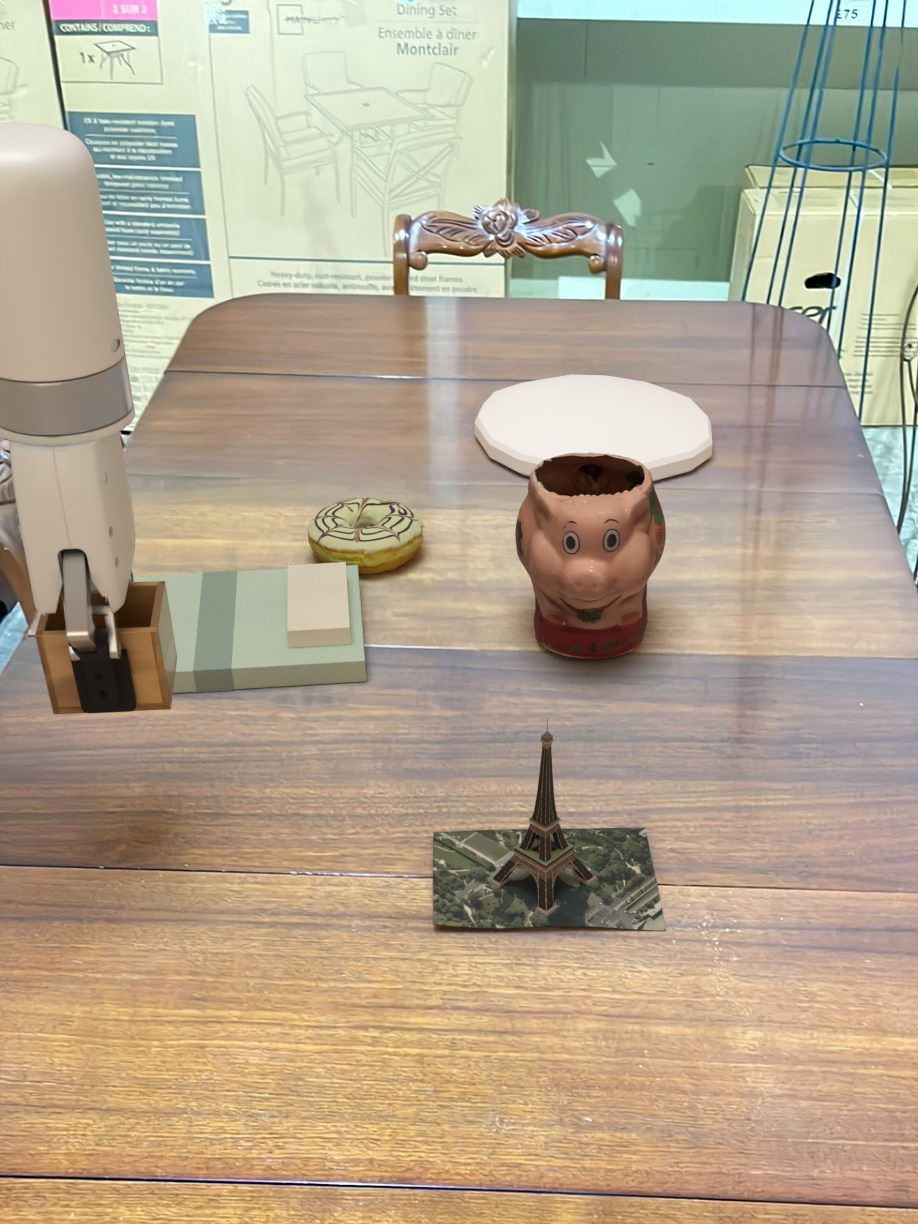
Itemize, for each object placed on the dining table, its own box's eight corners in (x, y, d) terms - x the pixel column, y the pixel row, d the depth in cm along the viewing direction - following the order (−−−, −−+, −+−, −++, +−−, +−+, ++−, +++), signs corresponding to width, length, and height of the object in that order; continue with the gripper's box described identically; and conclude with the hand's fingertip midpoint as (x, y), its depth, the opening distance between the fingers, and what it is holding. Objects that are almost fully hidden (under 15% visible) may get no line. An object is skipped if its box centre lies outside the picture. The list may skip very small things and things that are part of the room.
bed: (87, 699, 107) (78, 659, 105) (108, 598, 119) (99, 560, 117) (366, 682, 109) (363, 642, 107) (359, 585, 121) (356, 547, 119)
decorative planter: (508, 569, 123) (509, 418, 114) (642, 566, 124) (653, 416, 115) (521, 689, 108) (523, 527, 99) (673, 685, 109) (689, 523, 100)
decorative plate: (762, 421, 138) (547, 468, 130) (757, 460, 141) (546, 509, 132) (634, 343, 155) (437, 380, 146) (632, 380, 158) (438, 418, 149)
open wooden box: (53, 714, 82) (34, 635, 79) (66, 662, 87) (48, 584, 83) (170, 709, 83) (157, 630, 79) (177, 657, 87) (165, 580, 84)
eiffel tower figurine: (648, 832, 95) (663, 667, 86) (666, 930, 87) (685, 761, 78) (433, 836, 94) (426, 671, 86) (432, 935, 87) (425, 765, 78)
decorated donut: (429, 527, 129) (428, 490, 127) (418, 582, 121) (416, 543, 119) (320, 524, 130) (317, 486, 127) (302, 578, 122) (298, 539, 119)
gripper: (12, 335, 79) (71, 611, 91) (-44, 461, 66) (33, 764, 78) (144, 333, 79) (185, 607, 91) (114, 457, 67) (167, 757, 79)
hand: (115, 676), depth 84 cm, fingers closed on open wooden box, 6 cm apart
